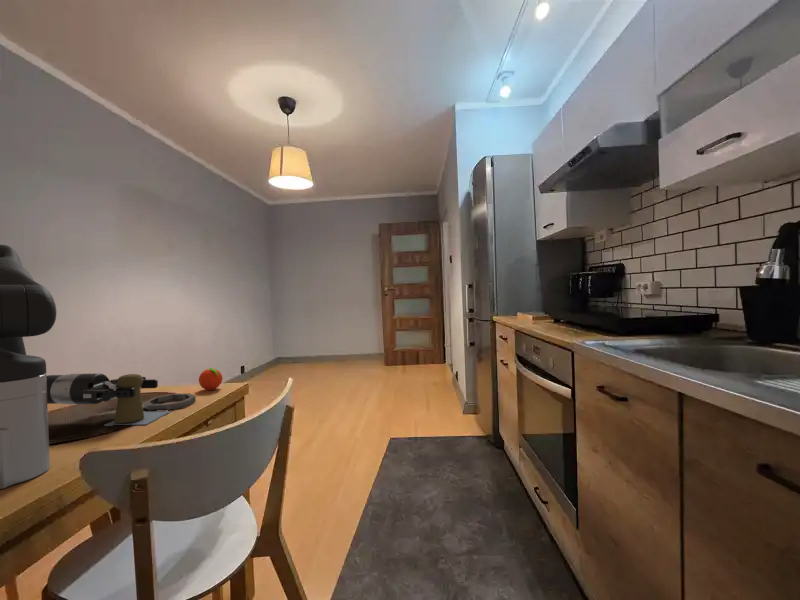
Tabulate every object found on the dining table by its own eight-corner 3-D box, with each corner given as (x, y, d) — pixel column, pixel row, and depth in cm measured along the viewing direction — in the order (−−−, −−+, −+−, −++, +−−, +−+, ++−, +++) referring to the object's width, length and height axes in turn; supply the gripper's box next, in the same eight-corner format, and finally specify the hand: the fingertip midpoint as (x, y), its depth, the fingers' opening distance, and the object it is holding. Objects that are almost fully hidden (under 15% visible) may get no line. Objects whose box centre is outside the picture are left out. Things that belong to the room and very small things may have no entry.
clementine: (229, 388, 123) (228, 367, 123) (208, 394, 117) (208, 371, 117) (214, 386, 127) (214, 365, 127) (194, 390, 121) (193, 368, 121)
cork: (150, 416, 95) (150, 372, 96) (130, 422, 89) (131, 376, 90) (128, 416, 96) (129, 373, 96) (107, 422, 90) (108, 376, 90)
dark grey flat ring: (179, 410, 100) (179, 404, 100) (135, 411, 100) (135, 405, 100) (201, 398, 112) (201, 393, 112) (162, 399, 112) (162, 394, 112)
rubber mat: (146, 425, 90) (146, 423, 90) (104, 426, 89) (104, 424, 89) (171, 411, 100) (171, 410, 100) (133, 412, 99) (133, 411, 99)
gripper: (55, 380, 87) (126, 379, 87) (102, 368, 101) (163, 367, 102) (56, 412, 87) (126, 411, 87) (103, 395, 101) (163, 394, 102)
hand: (146, 387), depth 95 cm, fingers open, 8 cm apart
